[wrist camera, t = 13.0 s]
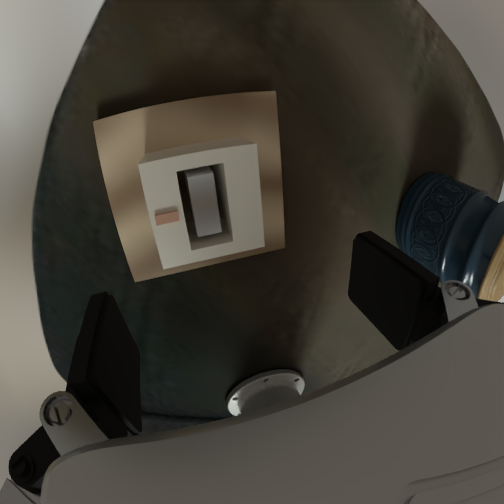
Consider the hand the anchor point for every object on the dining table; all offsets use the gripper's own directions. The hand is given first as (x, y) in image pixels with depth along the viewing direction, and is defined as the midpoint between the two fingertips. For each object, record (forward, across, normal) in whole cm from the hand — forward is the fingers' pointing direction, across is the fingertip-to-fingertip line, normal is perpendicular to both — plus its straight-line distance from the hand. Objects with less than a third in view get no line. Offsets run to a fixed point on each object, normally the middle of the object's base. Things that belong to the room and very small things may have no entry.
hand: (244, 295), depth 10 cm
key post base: (+15, 0, -1) cm, 15 cm away
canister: (+15, -29, +7) cm, 33 cm away
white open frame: (+13, 0, -1) cm, 13 cm away
